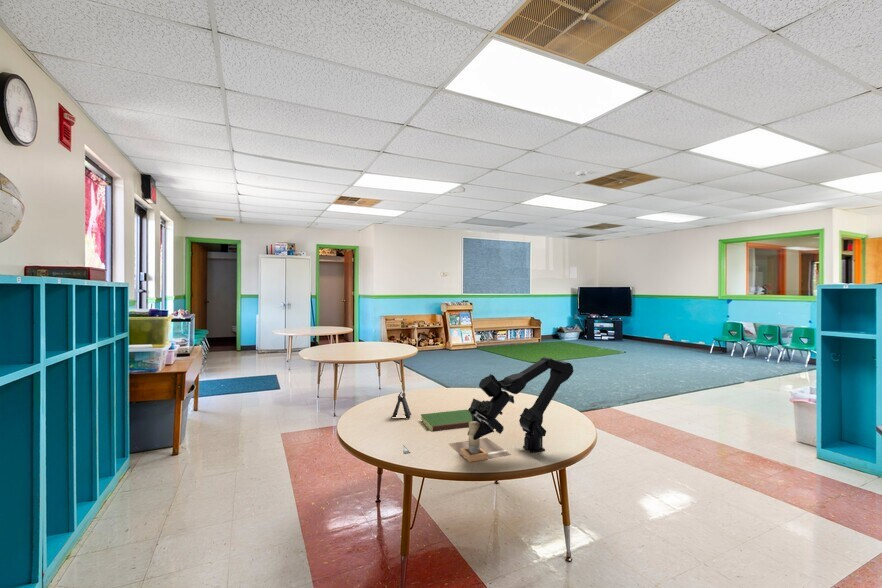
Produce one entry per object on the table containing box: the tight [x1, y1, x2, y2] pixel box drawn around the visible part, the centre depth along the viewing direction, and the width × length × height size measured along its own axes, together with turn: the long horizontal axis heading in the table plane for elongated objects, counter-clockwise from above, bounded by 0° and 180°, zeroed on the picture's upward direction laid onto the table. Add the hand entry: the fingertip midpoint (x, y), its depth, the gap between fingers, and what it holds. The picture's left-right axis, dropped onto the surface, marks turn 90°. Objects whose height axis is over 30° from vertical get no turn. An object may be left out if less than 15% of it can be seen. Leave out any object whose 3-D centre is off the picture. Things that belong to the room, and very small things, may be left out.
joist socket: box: [459, 448, 489, 463], centre depth 150 cm, size 8×8×2 cm
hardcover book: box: [420, 409, 472, 432], centre depth 190 cm, size 25×19×4 cm
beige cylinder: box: [468, 421, 481, 454], centre depth 150 cm, size 4×4×11 cm
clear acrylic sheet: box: [448, 437, 512, 463], centre depth 157 cm, size 18×19×1 cm
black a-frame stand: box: [391, 391, 412, 419], centre depth 200 cm, size 9×6×12 cm, turn 86°
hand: (470, 437), depth 149 cm, fingers closed on beige cylinder, 4 cm apart
